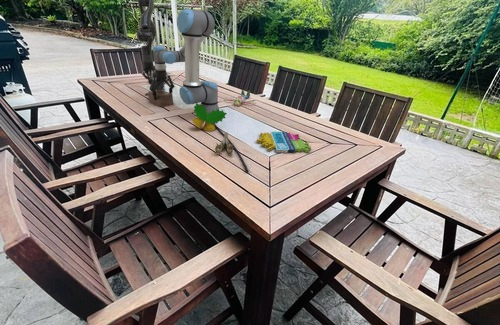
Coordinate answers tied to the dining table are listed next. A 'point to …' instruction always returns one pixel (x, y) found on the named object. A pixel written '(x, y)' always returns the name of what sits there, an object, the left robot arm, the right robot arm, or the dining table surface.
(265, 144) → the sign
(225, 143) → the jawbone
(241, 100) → the toy
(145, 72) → the left robot arm
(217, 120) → the ornament
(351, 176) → the dining table surface
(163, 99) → the cabinet
